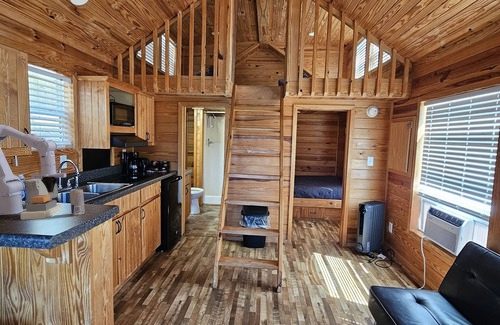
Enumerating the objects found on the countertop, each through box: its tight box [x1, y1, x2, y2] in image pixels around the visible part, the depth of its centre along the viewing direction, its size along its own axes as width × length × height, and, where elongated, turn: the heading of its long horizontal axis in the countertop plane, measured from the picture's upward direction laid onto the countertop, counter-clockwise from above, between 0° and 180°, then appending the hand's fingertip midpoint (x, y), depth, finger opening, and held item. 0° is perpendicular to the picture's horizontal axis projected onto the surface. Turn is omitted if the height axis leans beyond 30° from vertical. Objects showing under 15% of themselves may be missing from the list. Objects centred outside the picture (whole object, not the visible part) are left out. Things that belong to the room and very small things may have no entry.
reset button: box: [32, 195, 50, 203], centre depth 126 cm, size 5×5×2 cm
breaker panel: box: [19, 199, 63, 221], centre depth 127 cm, size 10×14×6 cm
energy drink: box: [69, 188, 86, 217], centre depth 127 cm, size 5×5×12 cm
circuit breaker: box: [22, 178, 59, 207], centre depth 143 cm, size 8×14×15 cm, turn 174°
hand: (50, 192), depth 130 cm, fingers closed
